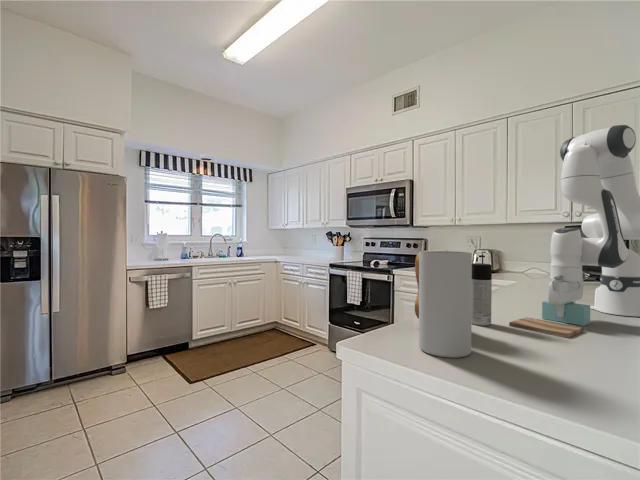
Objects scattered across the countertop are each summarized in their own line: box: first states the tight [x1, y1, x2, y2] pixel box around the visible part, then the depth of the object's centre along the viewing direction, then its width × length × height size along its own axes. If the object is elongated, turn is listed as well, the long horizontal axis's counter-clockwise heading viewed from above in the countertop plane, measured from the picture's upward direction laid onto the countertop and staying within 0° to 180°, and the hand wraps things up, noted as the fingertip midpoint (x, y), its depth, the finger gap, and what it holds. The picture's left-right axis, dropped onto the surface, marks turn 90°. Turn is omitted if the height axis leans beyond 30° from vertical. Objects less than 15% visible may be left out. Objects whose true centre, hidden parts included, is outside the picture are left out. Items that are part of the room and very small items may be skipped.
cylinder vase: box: [418, 250, 473, 359], centre depth 84 cm, size 12×12×25 cm
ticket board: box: [508, 316, 584, 339], centre depth 105 cm, size 12×16×1 cm
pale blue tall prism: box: [541, 299, 591, 327], centre depth 114 cm, size 6×12×6 cm, turn 35°
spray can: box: [471, 262, 493, 327], centre depth 111 cm, size 7×7×20 cm
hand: (565, 315), depth 114 cm, fingers closed on pale blue tall prism, 6 cm apart
